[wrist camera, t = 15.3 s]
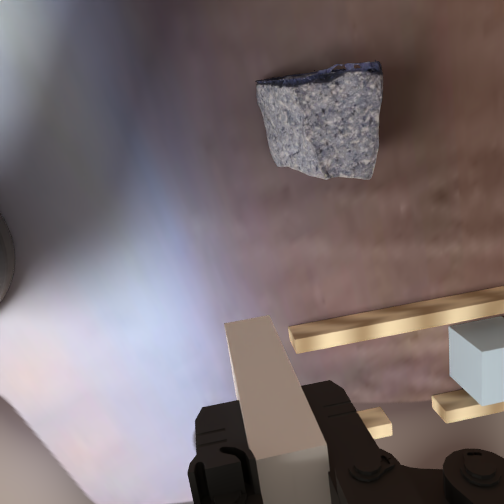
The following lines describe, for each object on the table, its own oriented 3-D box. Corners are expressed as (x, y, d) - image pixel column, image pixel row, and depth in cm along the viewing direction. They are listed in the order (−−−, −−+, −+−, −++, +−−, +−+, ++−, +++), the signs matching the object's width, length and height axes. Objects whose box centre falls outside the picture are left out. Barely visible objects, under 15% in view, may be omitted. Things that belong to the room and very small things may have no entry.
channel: (302, 435, 52) (311, 460, 48) (288, 326, 48) (297, 344, 44) (535, 385, 55) (562, 405, 51) (539, 279, 51) (568, 291, 47)
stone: (258, 55, 43) (373, 44, 41) (268, 162, 47) (372, 156, 45) (233, 75, 32) (386, 61, 31) (249, 209, 37) (383, 204, 35)
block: (449, 375, 53) (481, 406, 47) (448, 326, 51) (481, 352, 45) (500, 364, 53) (538, 394, 48) (500, 315, 52) (540, 340, 46)
